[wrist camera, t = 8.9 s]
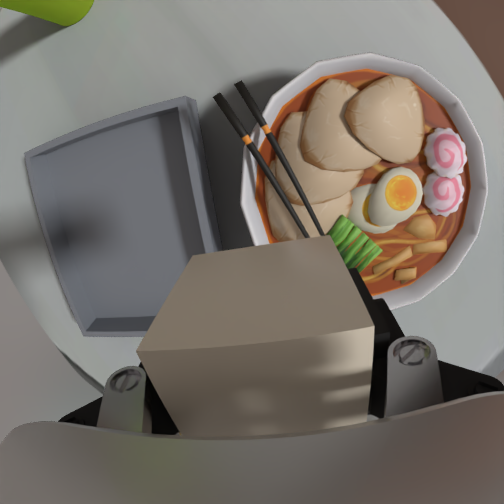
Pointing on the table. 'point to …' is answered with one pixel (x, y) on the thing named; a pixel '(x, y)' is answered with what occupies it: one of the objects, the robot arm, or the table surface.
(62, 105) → the table surface
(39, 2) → the soap dispenser
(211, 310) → the tan wooden cube
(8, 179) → the table surface
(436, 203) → the ramen bowl
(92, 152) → the parts tray
